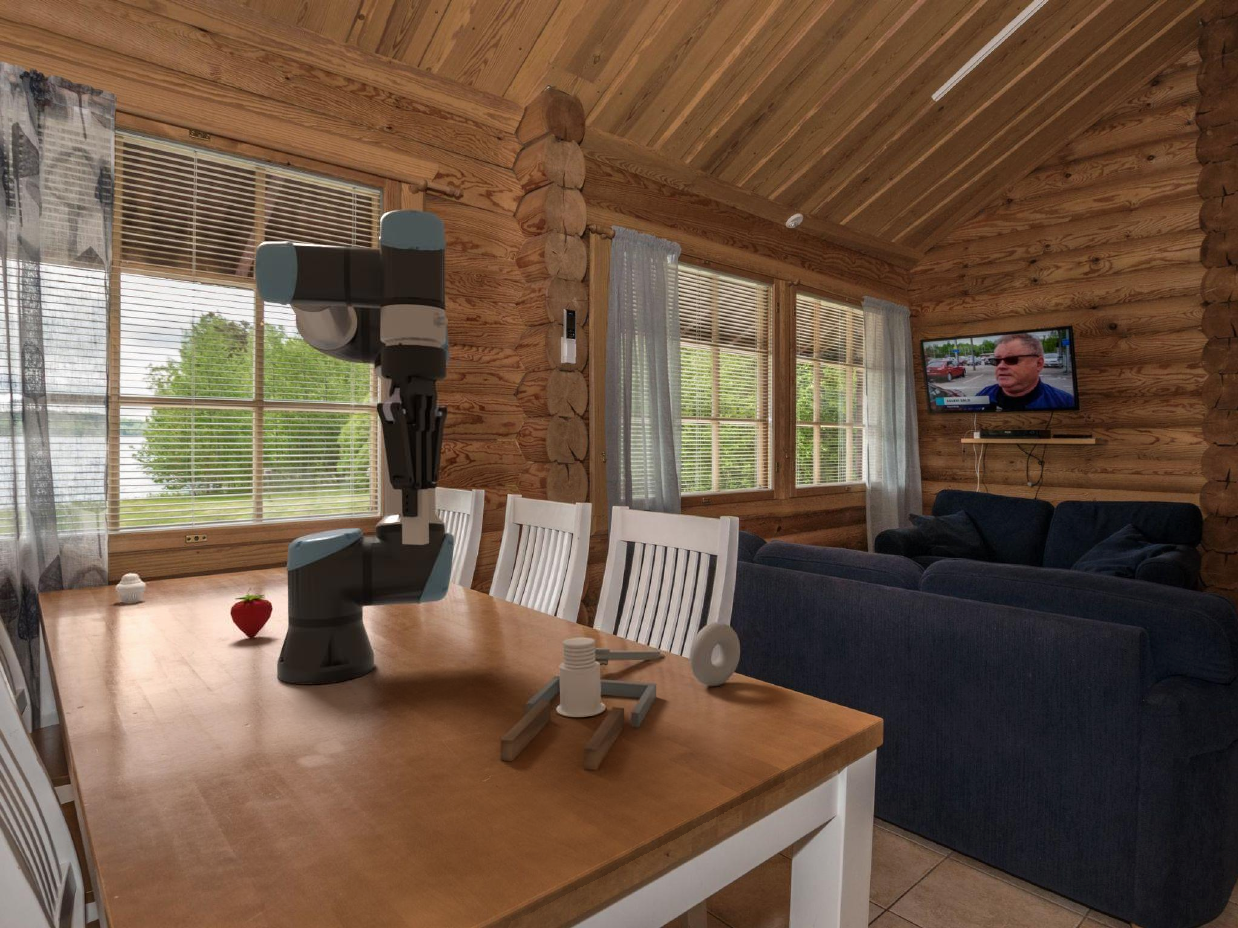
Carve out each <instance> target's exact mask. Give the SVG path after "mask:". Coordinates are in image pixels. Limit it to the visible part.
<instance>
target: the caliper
mask: <svg viewBox="0 0 1238 928" xmlns="http://www.w3.org/2000/svg"><path fill="white" fill-rule="evenodd" d="M665 657H666V656H665V654H664V653H661V651H659V650H611V649H610V648H606V647H595V661H596V662H599V663H600V666H602V665H604V666H608V665H609V661H654V660H658V659H660V658H665Z"/></svg>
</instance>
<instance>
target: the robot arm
mask: <svg viewBox="0 0 1238 928" xmlns="http://www.w3.org/2000/svg"><path fill="white" fill-rule="evenodd" d="M379 224H380V225H379V237H378V243H379V248H371V247H369V248H368V247H355V246H341V245H328V244H326V245H325V244H318V243H317V244H315V243H302V242H292V241H289V240H286V241H264V242H262V243H260V244H258V246H257V249H256V251H255V258H254V259H255V260H254V262H255V263H254V270H255V271H254V273H255V283H256V284H255V285H256V289H257V293H258V295H259V298H260V299H261V300H262V301H264V302H265V303H270V304H279V305H282V306H288V305H289V306H290V308H291V309H292V311H293V312H294V315H295V325H296V329H297V331H298V333H299V335H300V336H301V338H302V339H303V341H304V342H305V343H306V344H307V345H309V346H310V347H311V348H313V349H314V350H315V351H318V352H320V353H322V354H324V355H325V356H328V357H331V358H333V359H337V360H340V361H343V362H349V363H355V364H371V365H373V364H374V375H376V377H377V378H379V379H380V381H382V383H383V402H378V403H377V405H376V412H377V414H378V417H379V419H380V422H381V428H382V435H383V455H384V456H383V458H384V460H383V463H384V464H383V466H384V468H383V469H384V473H383V474H384V476H383V477H384V479H383V480H384V481H383V482H384V483H383V484H384V485H383V486H384V515H383V517H382V519H380V520H379V522H378V523H376V525H375V535H374V536H364V533H363V532H362V529H361V528H359V527H357V528H356V527H353V528H340V529H332V530H331V529H330V530H325V531H321V532H315V533H310V534H308V535H303V536H300V537H298V538H296V539H294V540H293V541H292V542H290V544H289V545H288V547H287V548H288V549H287V563H286V564H287V565H286V567H285V570H286V571H287V622H288V625H287V632H286V635H285V638H284V640H283V644H282V647H281V650H280V653H279V657H278V659H277V664H276V673H277V674H276V676H277V678H278V680H280V681H282V682H285V683H290V684H297V685H320V684H323V685H324V684H333V683H337V682H342V681H343V682H344V681H347V680H351V679H355V678H358V677H361V676H363V675H366V674H368V673H369V672H371V671H372V670H374V667H375V653H374V650H373V648H372V644H371V641H370V638H369V635H368V632H367V630H366V627H365V624H364V617H363V615H364V611H363V608H364V607H371V606H372V607H375V606H392V605H393V606H394V605H407V604H408V605H409V604H417V605H420V604H422V603H423V604H424V603H430V602H431V603H432V602H439V601H441V600H443V599H444V598H445V597H446V596H447V594H448V592H449V587H450V581H451V575H452V568H453V559H454V542H455V537H454V535H453V534H452V533H450V532H446V524H445V522H444V521H443V520H442V519H441V518H440V517H439V516H438V515H437V511H436V504H437V503H436V489H437V488H438V481H439V478H440V469H441V468H440V467H441V459H442V457H441V456H442V446H443V439H444V428H445V423H446V420H447V416H448V413H449V411H448V407H447V406H446V405H445V406H442V405H441V406H440V405H439V402H438V399H439V398H438V392H437V387H436V386H437V385H436V383H437V381H442V380H445V379H446V377H447V366H448V365H449V363H450V357H451V356H450V347H449V343H450V342H449V333H448V332H449V331H448V327H447V326H448V325H447V324H448V323H449V319H448V317H447V316H446V307H447V306H446V249H447V244H448V243H447V242H446V232H445V229H446V228H445V223H444V221H443V220H442V219H441V218H440V217H438V215H436V214H434V213H430V212H427V211H422V210H417V209H415V210H414V209H395V210H391V211H388V212H386V213H384V214H383V215H382V216H381V218H380V223H379Z"/></svg>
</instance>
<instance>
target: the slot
mask: <svg viewBox="0 0 1238 928" xmlns="http://www.w3.org/2000/svg"><path fill="white" fill-rule="evenodd" d="M550 720H551V701H539V702H538V703H537V704H536V705H535V706H534V707H533V708H532V709H531V710H530V711H529V712H528V713H527V714H526V713H525V715H524V716H523V717H521V719H520V720H519V721H518V722H517V723H516V724H515V725H514V726H513V727H512V728H510V730H508V732H507V733H505V735H504V736H503V737H501V738H500V761H507V762H513V761H514V760H516V758H517V757H518V756H519V755H520V753H521V752H522V751H523V750H524V749H525V748H526V747H527V746H528V745H529V743H530V742H531V741H532V740H533V739H535V737H536V736H537V735H538V734H539V732H540V731H541V730H543V728H544V727H545V726H546V725H547V723H549V722H550ZM624 727H625V707H616V706H613V707H612V708H611V710H610V711H609V712H608V714H607V715H606V716H605V718H604V720H603V721H602V722H601V724H599V726H598V728H597V730H596V731H595V732H594V734H593V735H592V736H591V738H590V739H589V740H588V741H587V743H586V745H585V746H584V748H583V769H584V770H590V771H597V770H598V768H599V767H600V766H601V763H602V762H603V760H604V759H605V757H606V756H607V755H608V753H609V751H610V749H611V748H612V747H613V745H614V743H615V741H616V740H617V739H618V737H619V736H620V734H621V732H622V730H623V729H624Z"/></svg>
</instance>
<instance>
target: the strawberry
mask: <svg viewBox="0 0 1238 928" xmlns="http://www.w3.org/2000/svg"><path fill="white" fill-rule="evenodd" d="M251 589H252V588H251V587H250V588H249V589H248V591H247V592H246V593H247V594H246V595H245V596H242V597H236V598H234V600H241V601H237V602H235V603H234V604H233V605H232V606H231V608H230V616H231V617H230V618H231V619H232V623H233V624H234V625H235V626H236V627H237V628H238V629H239V630H240V631H241V632H243V634H244V635H245V636H246V637H247V638H249V639H253V638H255V637H256V636H257V635H258V634H259V632H260V631H261V630H262V629H263V628H264V627H265V626H266V623H267V622H268V621H269V619H270V618H271V616H272V612H273V605H272V602H271V601H269V600H267V599H265V598H266V597H265V594H259V595H256V594H251V595H250V594H249V593H250V591H251Z"/></svg>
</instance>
